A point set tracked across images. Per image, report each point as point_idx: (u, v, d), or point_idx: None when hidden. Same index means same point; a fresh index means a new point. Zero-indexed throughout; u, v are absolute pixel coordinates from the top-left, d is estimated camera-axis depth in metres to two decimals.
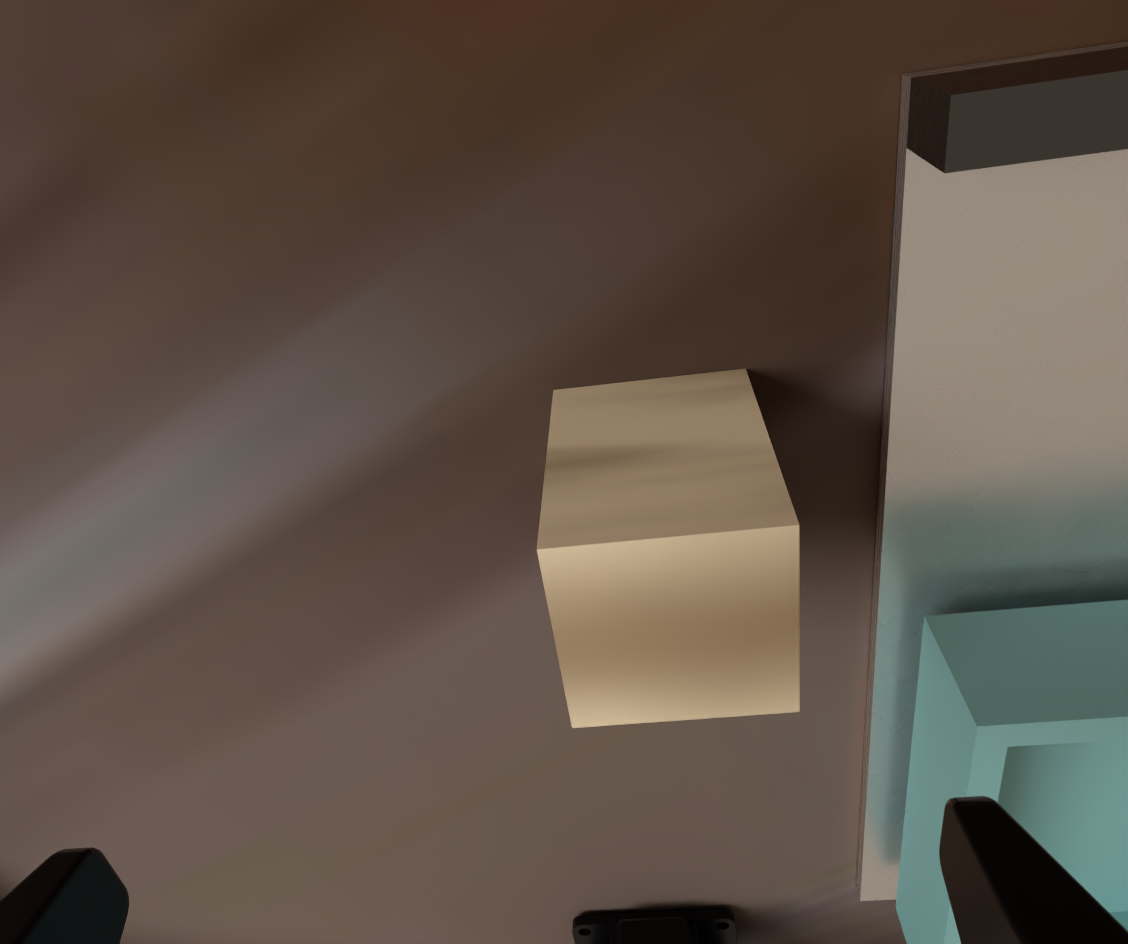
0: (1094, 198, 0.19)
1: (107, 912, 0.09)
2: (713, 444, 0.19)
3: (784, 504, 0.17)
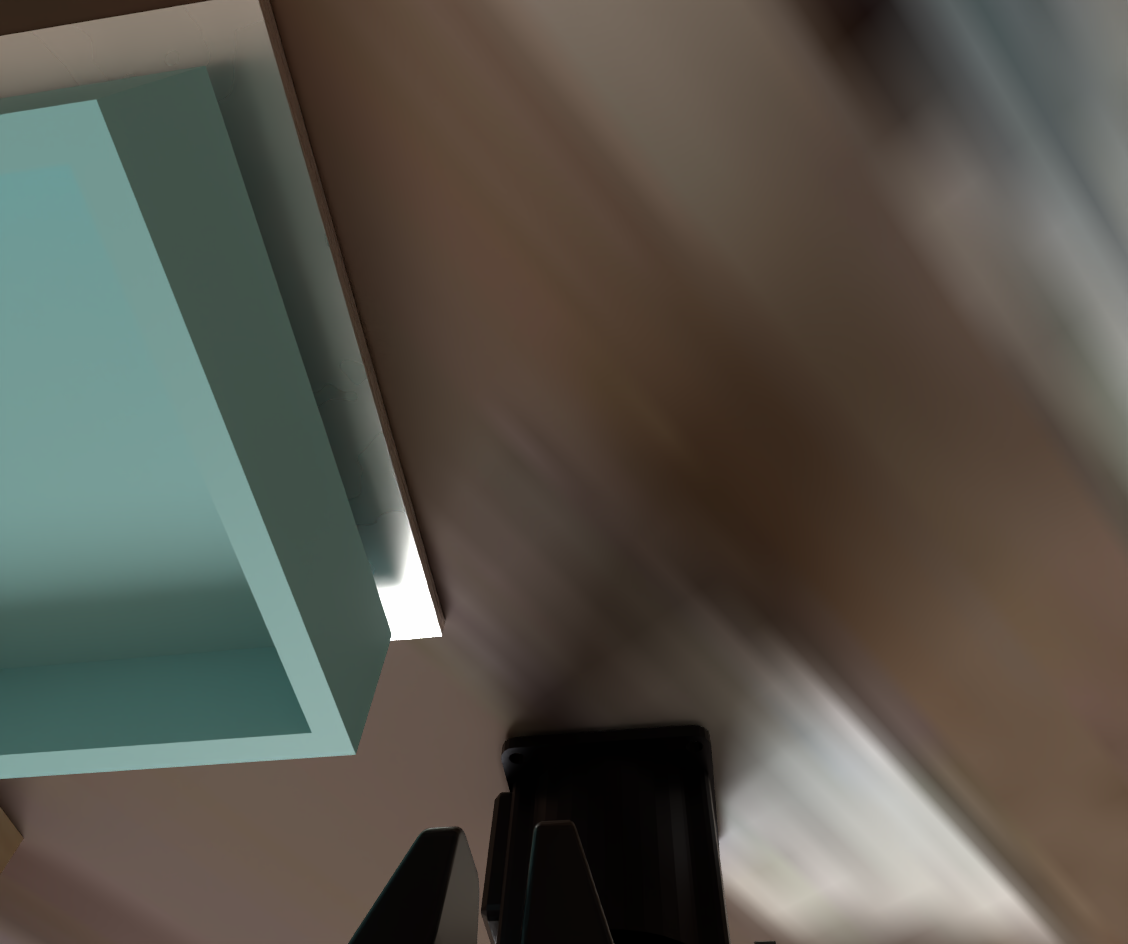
0: None
1: (471, 894, 0.09)
2: None
3: None
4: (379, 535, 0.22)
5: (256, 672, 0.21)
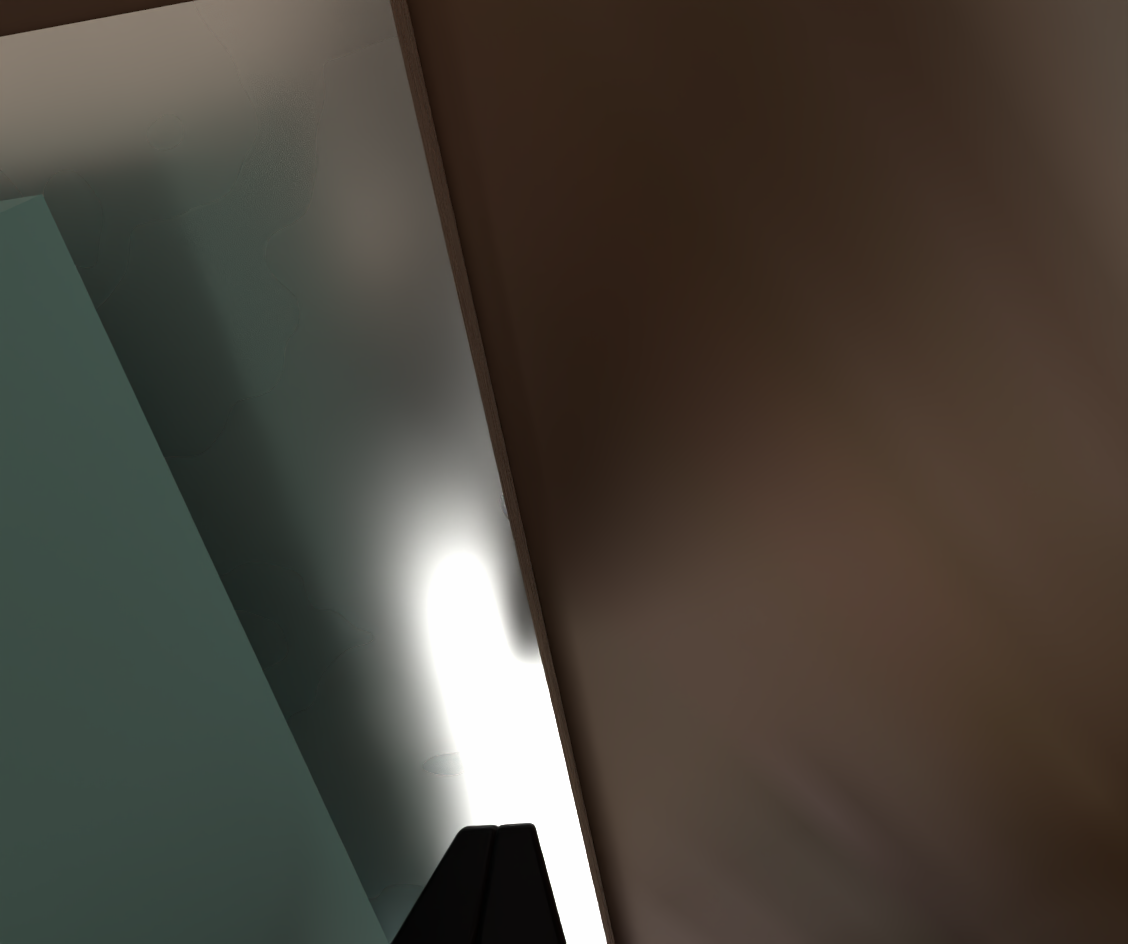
0: None
1: None
2: None
3: None
4: None
5: None
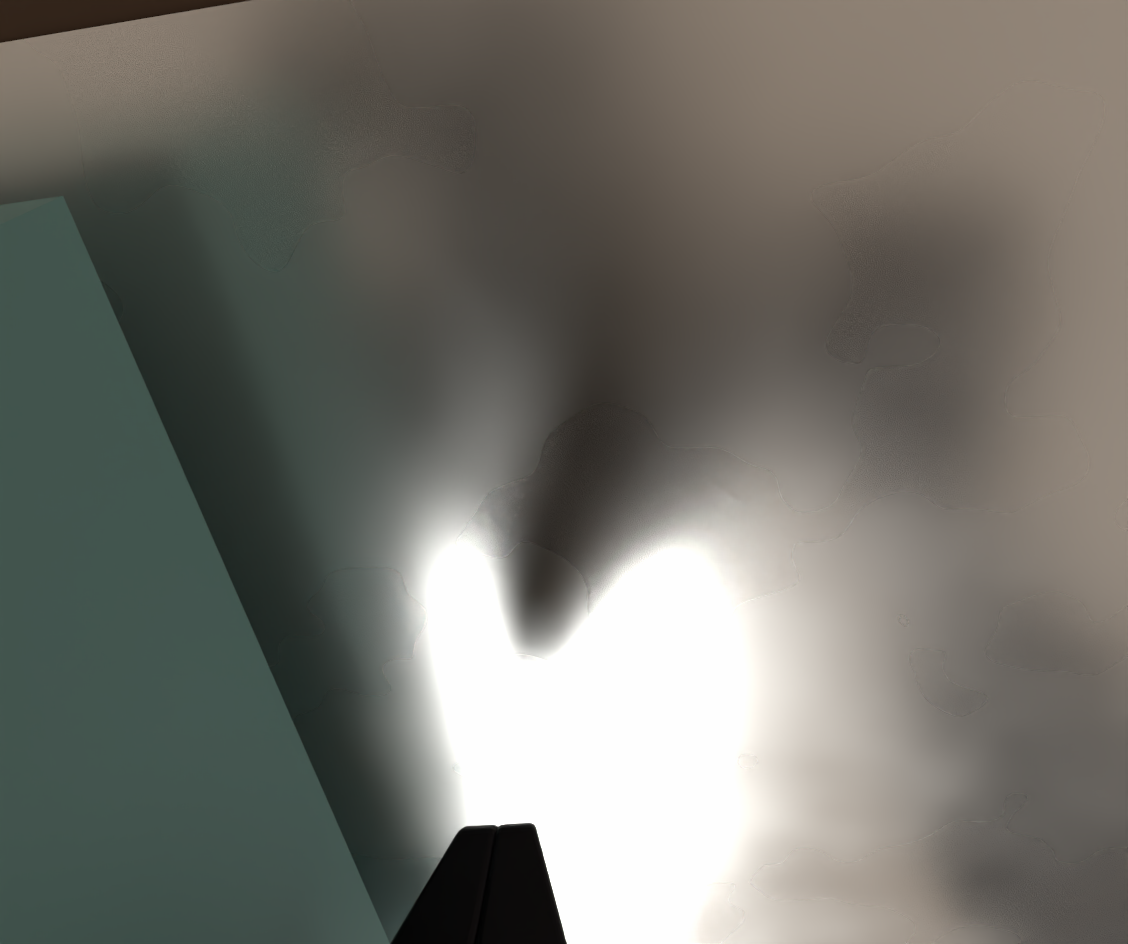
0: None
1: None
2: None
3: None
4: None
5: None
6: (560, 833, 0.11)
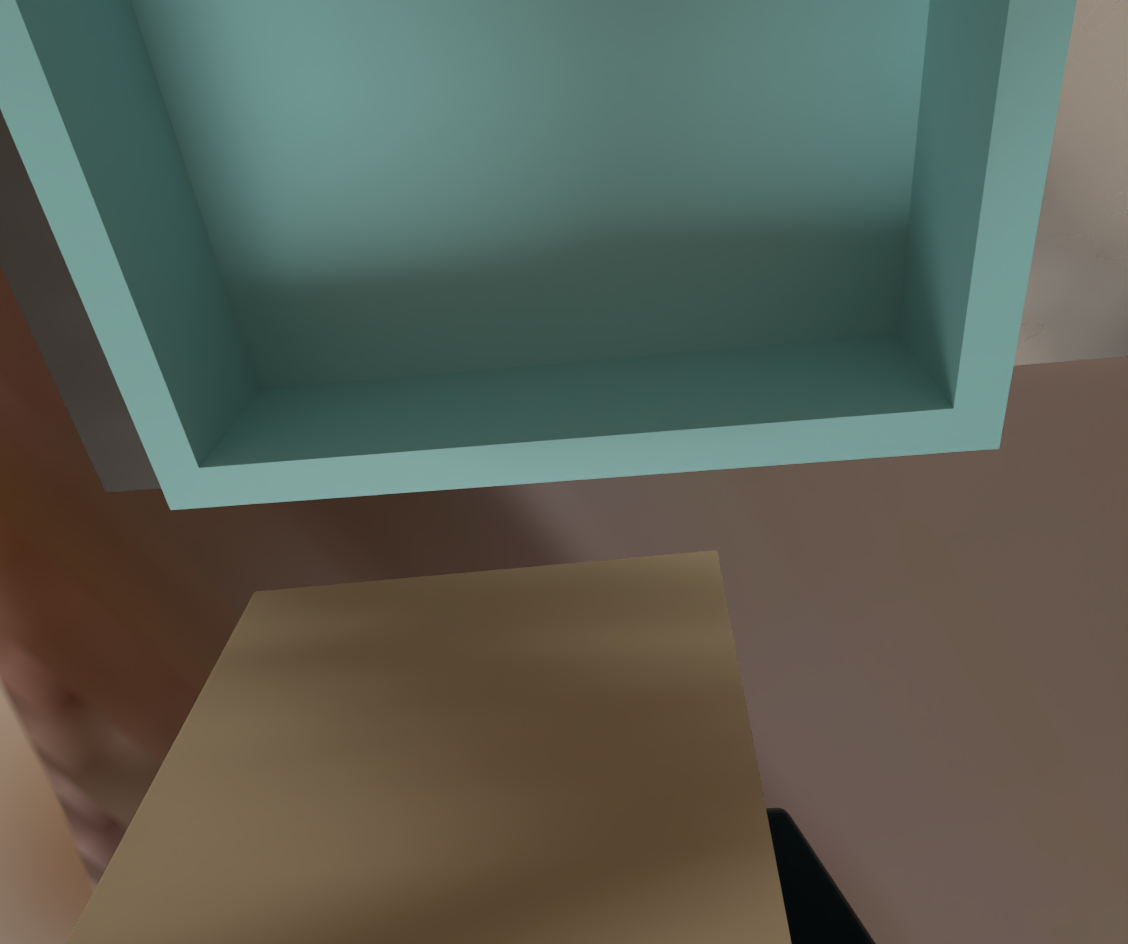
0: None
1: None
2: None
3: None
4: None
5: (794, 364, 0.15)
6: (1074, 39, 0.15)
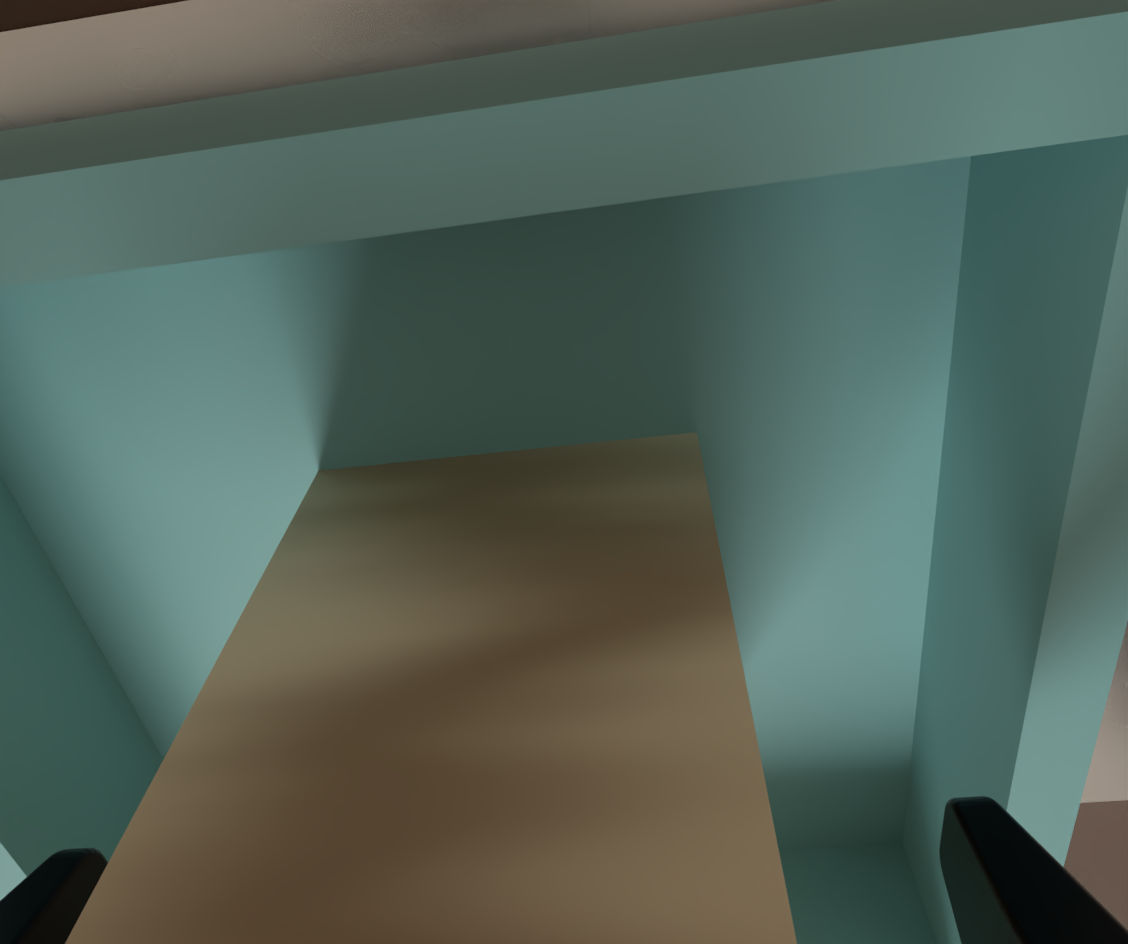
0: None
1: None
2: None
3: None
4: None
5: (793, 898, 0.14)
6: None
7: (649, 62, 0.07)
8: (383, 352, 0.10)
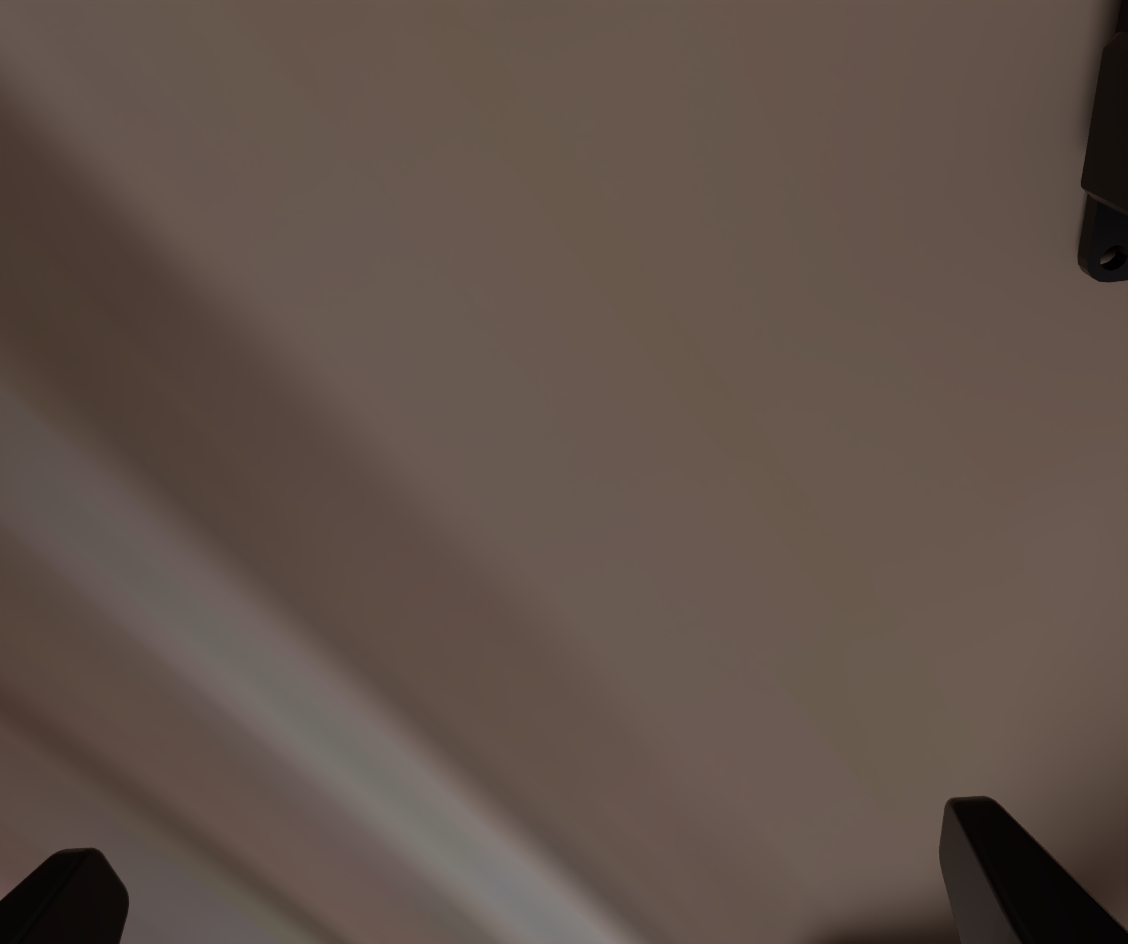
0: None
1: (108, 912, 0.09)
2: None
3: None
4: None
5: None
6: None
7: None
8: None
